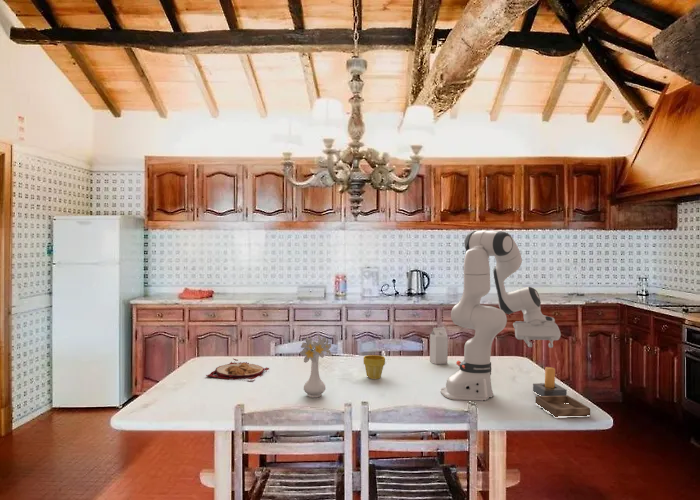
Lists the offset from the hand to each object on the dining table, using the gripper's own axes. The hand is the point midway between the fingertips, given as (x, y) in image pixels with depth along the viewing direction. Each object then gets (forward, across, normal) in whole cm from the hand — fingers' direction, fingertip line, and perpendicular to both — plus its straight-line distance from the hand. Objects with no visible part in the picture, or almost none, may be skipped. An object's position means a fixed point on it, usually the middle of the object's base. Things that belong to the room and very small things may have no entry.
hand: (540, 346), depth 237 cm
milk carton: (-17, -40, +44) cm, 62 cm away
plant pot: (+6, -76, +22) cm, 79 cm away
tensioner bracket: (+22, 0, +5) cm, 22 cm away
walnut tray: (+36, -2, -9) cm, 37 cm away
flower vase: (+28, -101, -1) cm, 105 cm away
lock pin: (+22, 0, +5) cm, 22 cm away
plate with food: (+3, -141, +25) cm, 143 cm away
